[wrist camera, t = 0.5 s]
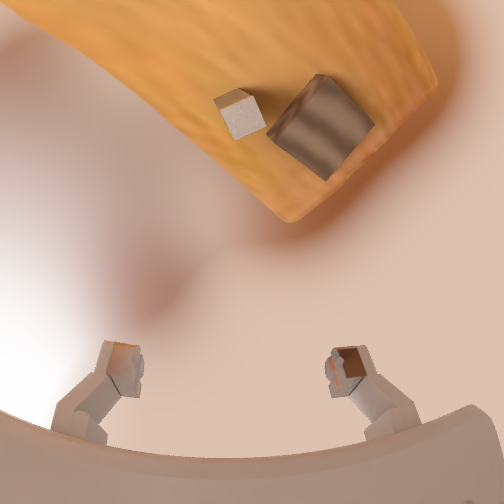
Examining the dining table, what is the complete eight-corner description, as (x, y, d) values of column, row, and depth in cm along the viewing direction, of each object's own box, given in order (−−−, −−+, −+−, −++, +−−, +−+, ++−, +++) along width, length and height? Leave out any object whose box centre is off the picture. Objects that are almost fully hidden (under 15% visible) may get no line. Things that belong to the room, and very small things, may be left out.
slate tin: (212, 99, 45) (219, 110, 36) (238, 87, 45) (253, 96, 36) (224, 122, 49) (234, 140, 40) (249, 111, 48) (266, 126, 39)
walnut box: (315, 73, 46) (329, 77, 41) (359, 116, 53) (375, 124, 48) (265, 133, 52) (274, 142, 48) (314, 169, 59) (325, 181, 55)
